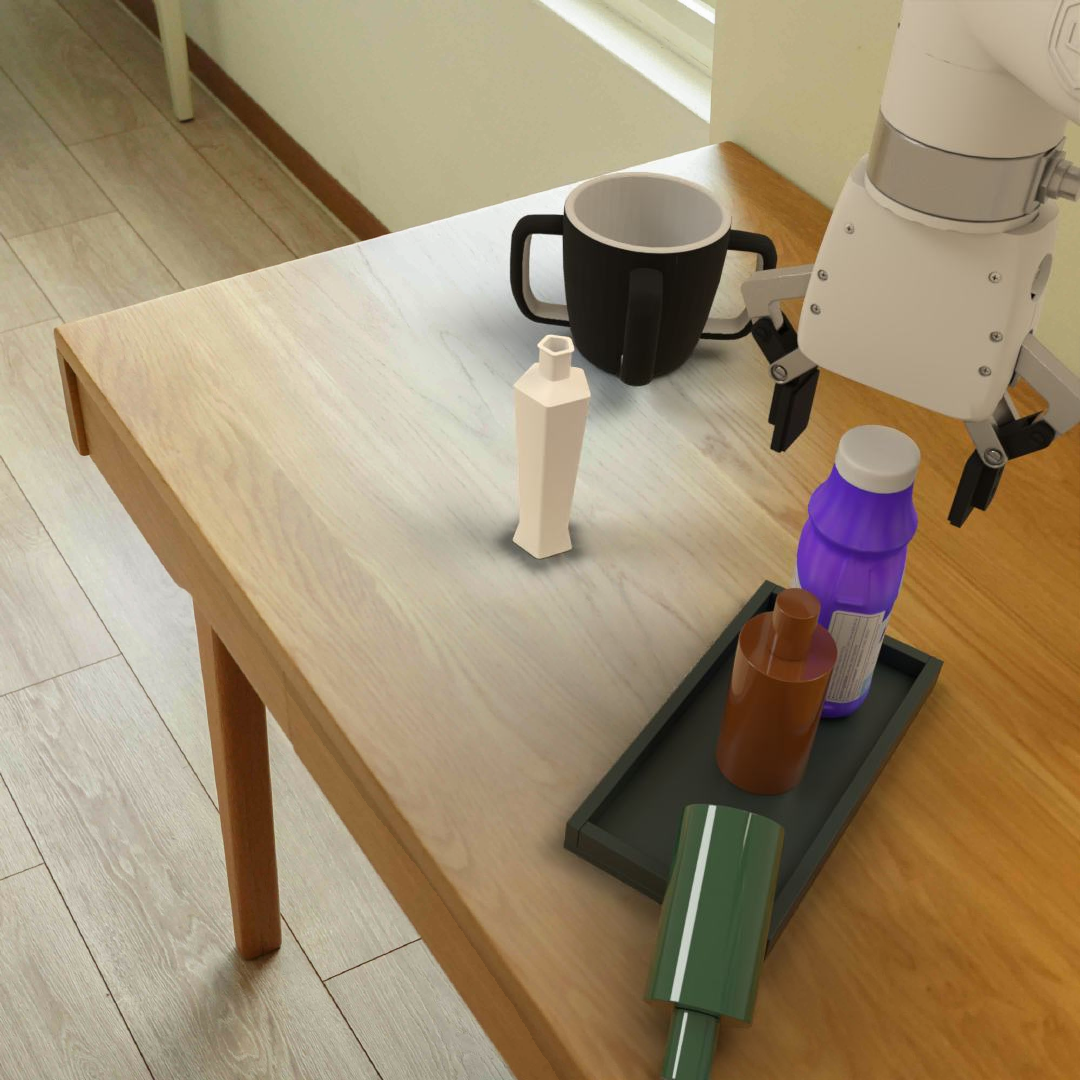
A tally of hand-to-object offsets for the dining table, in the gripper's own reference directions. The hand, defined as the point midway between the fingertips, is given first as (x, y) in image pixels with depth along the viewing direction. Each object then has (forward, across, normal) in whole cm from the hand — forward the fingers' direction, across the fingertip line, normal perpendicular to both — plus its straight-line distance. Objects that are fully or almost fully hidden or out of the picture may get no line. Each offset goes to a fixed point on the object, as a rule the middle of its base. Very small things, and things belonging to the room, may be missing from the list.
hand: (873, 474), depth 69 cm
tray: (+16, 0, +7) cm, 17 cm away
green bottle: (+10, -2, +16) cm, 19 cm away
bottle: (+16, 0, 0) cm, 16 cm away
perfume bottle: (+16, +20, -1) cm, 26 cm away
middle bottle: (+15, 0, +7) cm, 17 cm away
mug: (+16, +27, -24) cm, 40 cm away
